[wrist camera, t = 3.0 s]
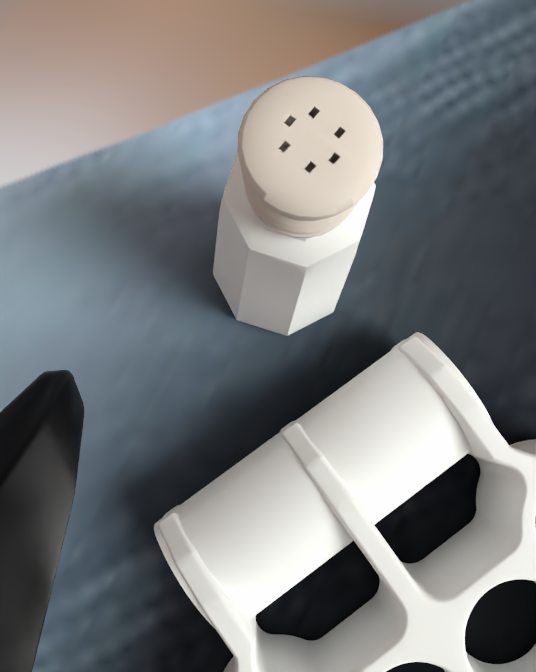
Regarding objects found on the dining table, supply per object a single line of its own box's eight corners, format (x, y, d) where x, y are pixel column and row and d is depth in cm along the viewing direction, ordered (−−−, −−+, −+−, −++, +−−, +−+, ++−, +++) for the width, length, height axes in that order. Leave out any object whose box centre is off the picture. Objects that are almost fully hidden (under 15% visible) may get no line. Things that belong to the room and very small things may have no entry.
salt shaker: (184, 277, 20) (105, 153, 9) (272, 176, 21) (292, -51, 10) (289, 364, 20) (332, 343, 9) (374, 261, 21) (512, 124, 10)
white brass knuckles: (465, 290, 21) (693, 595, 20) (92, 563, 19) (320, 901, 18) (506, 273, 17) (783, 638, 16) (58, 601, 16) (335, 1017, 15)
